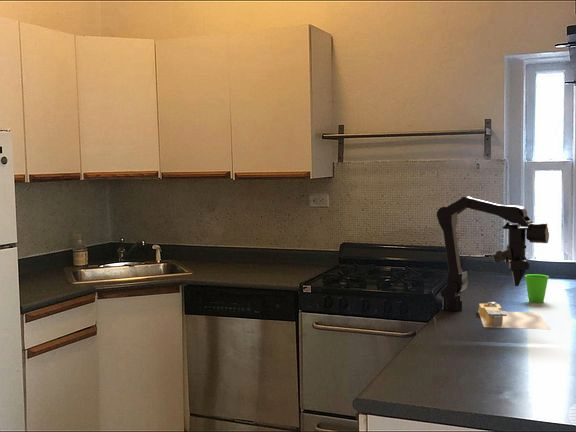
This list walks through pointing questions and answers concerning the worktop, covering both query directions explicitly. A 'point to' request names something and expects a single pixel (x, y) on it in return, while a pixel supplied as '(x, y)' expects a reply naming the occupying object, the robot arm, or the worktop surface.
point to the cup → (536, 287)
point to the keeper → (496, 316)
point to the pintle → (491, 304)
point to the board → (519, 321)
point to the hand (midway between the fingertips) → (516, 286)
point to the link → (485, 307)
